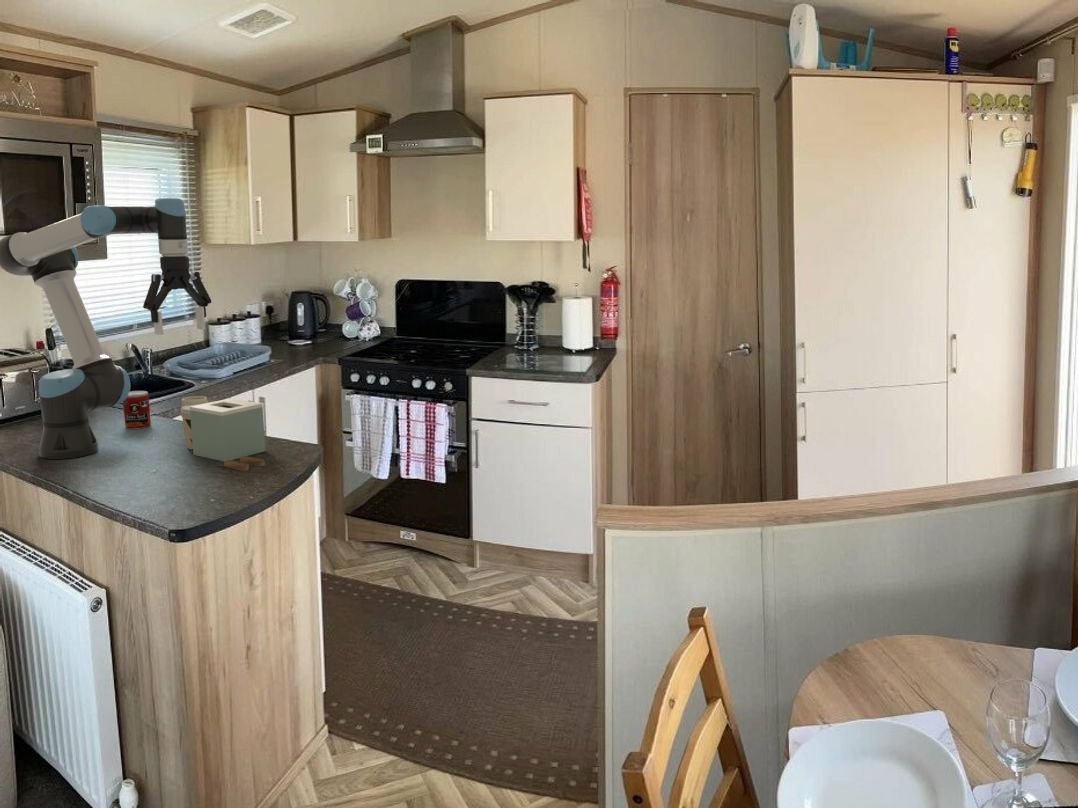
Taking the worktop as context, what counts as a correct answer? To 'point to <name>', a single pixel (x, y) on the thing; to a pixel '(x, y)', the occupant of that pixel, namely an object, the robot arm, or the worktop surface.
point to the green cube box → (227, 429)
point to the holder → (244, 463)
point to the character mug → (193, 401)
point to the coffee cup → (187, 425)
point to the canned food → (137, 410)
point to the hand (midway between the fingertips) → (180, 331)
